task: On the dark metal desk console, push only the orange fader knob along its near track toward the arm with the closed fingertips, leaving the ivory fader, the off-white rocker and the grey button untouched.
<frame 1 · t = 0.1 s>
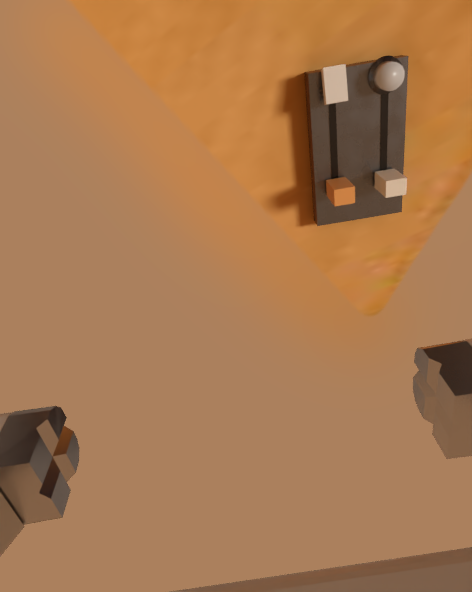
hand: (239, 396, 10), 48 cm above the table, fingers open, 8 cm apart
fader ivory: (390, 182, 53), point 4 cm above the table, slide at 0.0 cm
button: (388, 76, 48), point 3 cm above the table, slide at 0.0 cm
console: (353, 145, 55), on the table
rocker: (334, 85, 48), point 3 cm above the table, hinge at -12.0°
fader orange: (340, 191, 53), point 4 cm above the table, slide at 0.0 cm
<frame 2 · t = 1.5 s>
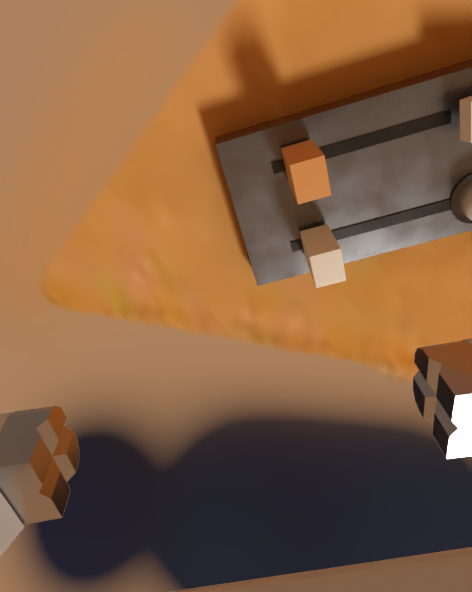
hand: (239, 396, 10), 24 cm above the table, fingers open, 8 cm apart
fader ivory: (321, 255, 30), point 4 cm above the table, slide at 0.0 cm
console: (357, 177, 32), on the table
fader orange: (305, 170, 27), point 4 cm above the table, slide at 0.0 cm
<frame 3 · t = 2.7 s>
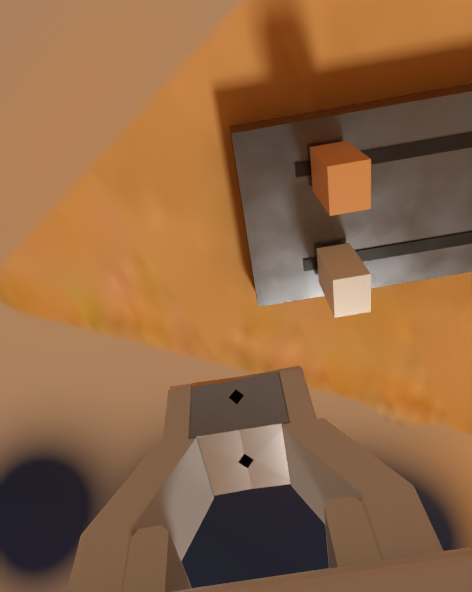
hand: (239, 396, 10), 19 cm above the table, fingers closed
fader ivory: (342, 278, 25), point 4 cm above the table, slide at 0.0 cm
console: (385, 193, 28), on the table
fader orange: (338, 176, 22), point 4 cm above the table, slide at 0.0 cm
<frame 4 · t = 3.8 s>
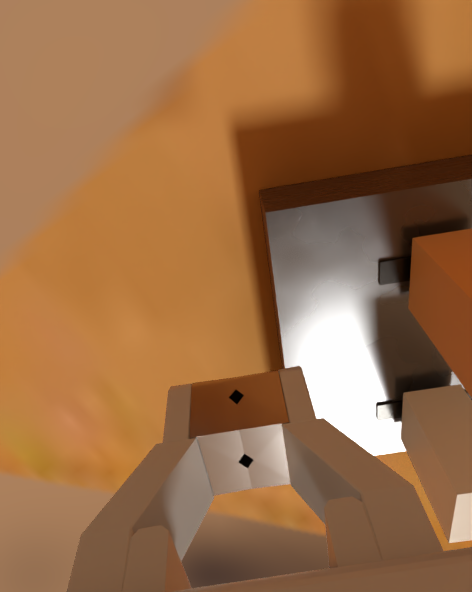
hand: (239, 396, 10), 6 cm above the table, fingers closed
fader ivory: (455, 457, 14), point 4 cm above the table, slide at 0.0 cm
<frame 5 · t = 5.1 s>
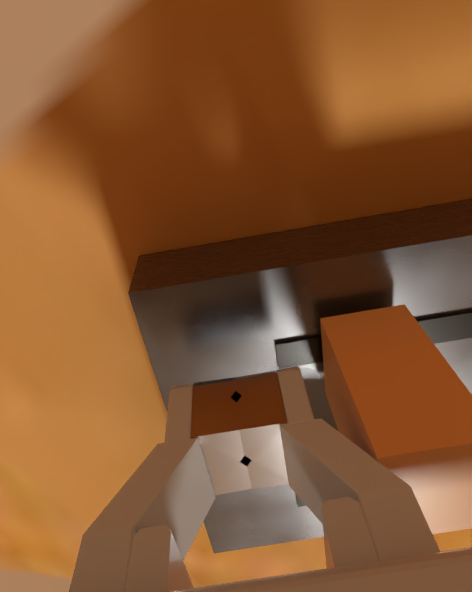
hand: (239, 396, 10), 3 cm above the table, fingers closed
console: (452, 359, 14), on the table
fader orange: (392, 409, 9), point 4 cm above the table, slide at 0.3 cm, touching gripper
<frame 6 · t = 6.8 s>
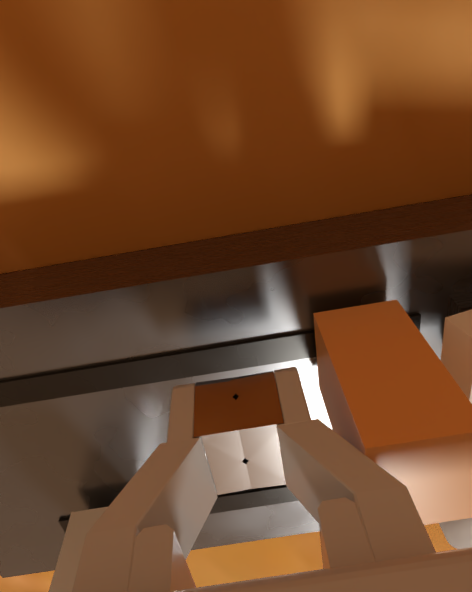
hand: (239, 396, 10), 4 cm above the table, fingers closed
console: (216, 391, 15), on the table
fader orange: (383, 403, 9), point 4 cm above the table, slide at 8.0 cm, touching gripper
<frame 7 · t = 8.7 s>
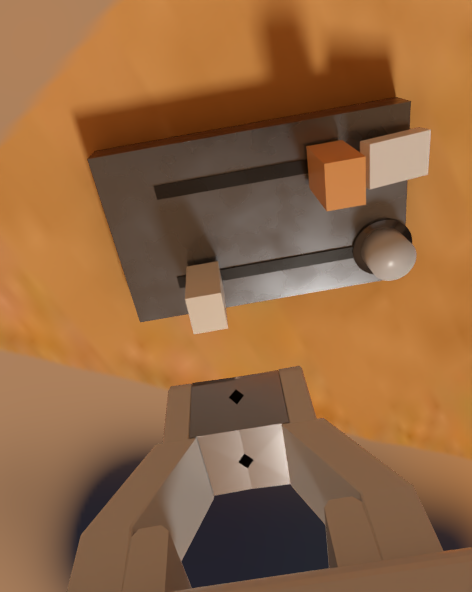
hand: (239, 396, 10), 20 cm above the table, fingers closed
fader ivory: (206, 296, 26), point 4 cm above the table, slide at 0.0 cm
button: (387, 254, 27), point 3 cm above the table, slide at 0.0 cm
console: (257, 212, 29), on the table
rocker: (394, 158, 24), point 3 cm above the table, hinge at -12.0°
fader orange: (334, 174, 23), point 4 cm above the table, slide at 8.1 cm
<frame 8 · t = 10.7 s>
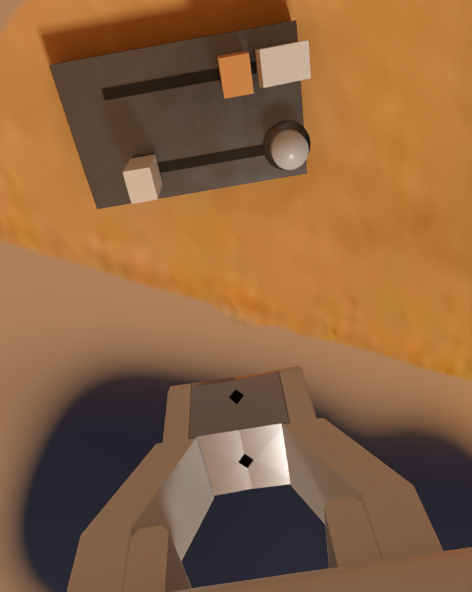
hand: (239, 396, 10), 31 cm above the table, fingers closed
fader ivory: (143, 178, 34), point 4 cm above the table, slide at 0.0 cm
button: (288, 148, 35), point 3 cm above the table, slide at 0.0 cm
console: (188, 118, 36), on the table
rocker: (283, 64, 31), point 3 cm above the table, hinge at -12.0°
fader orange: (234, 74, 31), point 4 cm above the table, slide at 8.1 cm
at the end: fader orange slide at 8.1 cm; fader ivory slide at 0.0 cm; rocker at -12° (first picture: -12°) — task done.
